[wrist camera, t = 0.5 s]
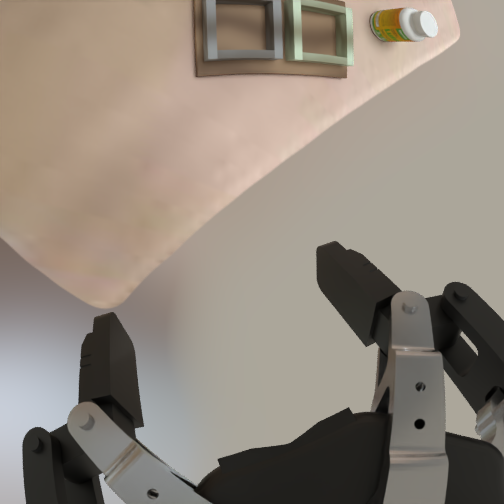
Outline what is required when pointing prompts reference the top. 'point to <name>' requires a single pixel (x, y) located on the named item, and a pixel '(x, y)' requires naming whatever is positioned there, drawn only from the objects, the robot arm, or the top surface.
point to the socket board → (273, 37)
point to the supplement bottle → (403, 25)
